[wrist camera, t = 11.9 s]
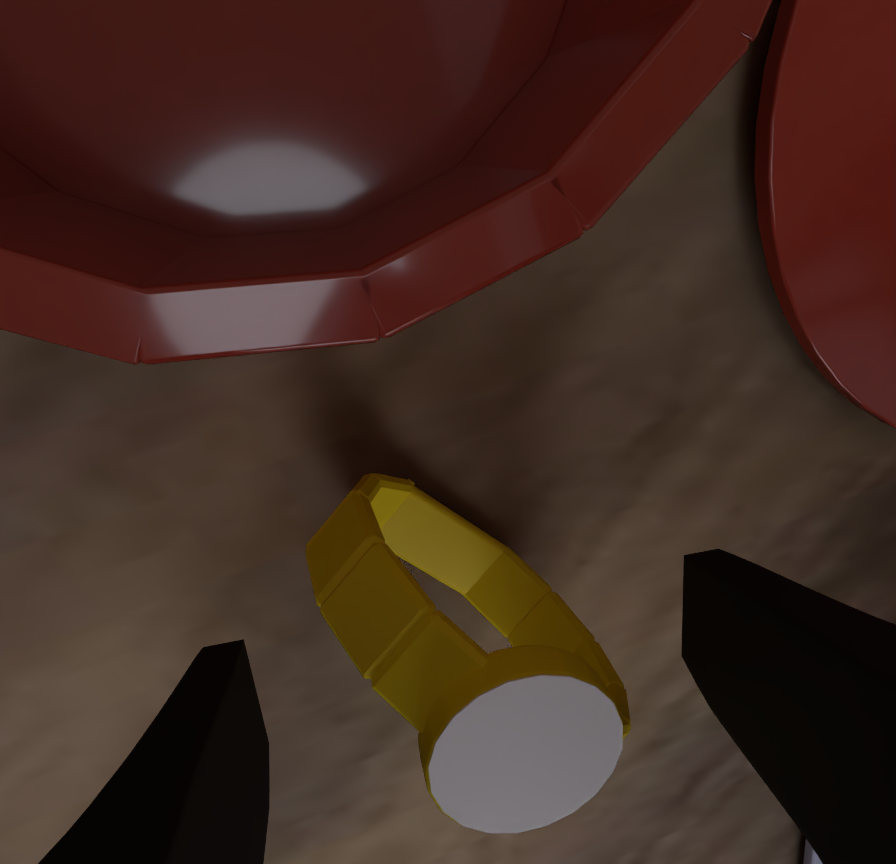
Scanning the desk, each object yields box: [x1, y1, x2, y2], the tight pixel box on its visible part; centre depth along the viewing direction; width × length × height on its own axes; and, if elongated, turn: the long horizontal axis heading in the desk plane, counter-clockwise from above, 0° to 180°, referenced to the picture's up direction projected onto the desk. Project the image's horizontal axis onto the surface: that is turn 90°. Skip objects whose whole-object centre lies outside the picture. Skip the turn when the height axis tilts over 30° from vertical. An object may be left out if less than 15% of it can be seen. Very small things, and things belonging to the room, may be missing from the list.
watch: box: [305, 473, 631, 833], centre depth 12 cm, size 6×3×6 cm, turn 50°
